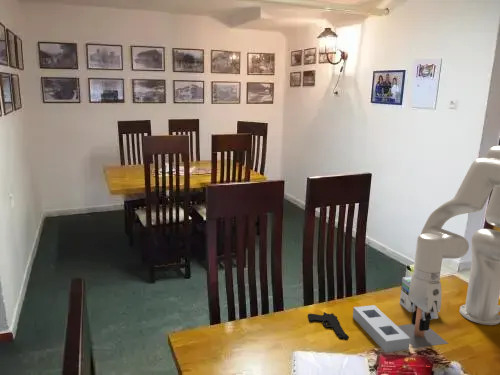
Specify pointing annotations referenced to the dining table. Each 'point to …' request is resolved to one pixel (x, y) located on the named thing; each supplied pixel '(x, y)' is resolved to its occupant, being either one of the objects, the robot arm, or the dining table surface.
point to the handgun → (329, 323)
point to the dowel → (418, 323)
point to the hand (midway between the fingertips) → (420, 326)
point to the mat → (427, 340)
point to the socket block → (381, 328)
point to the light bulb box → (405, 294)
